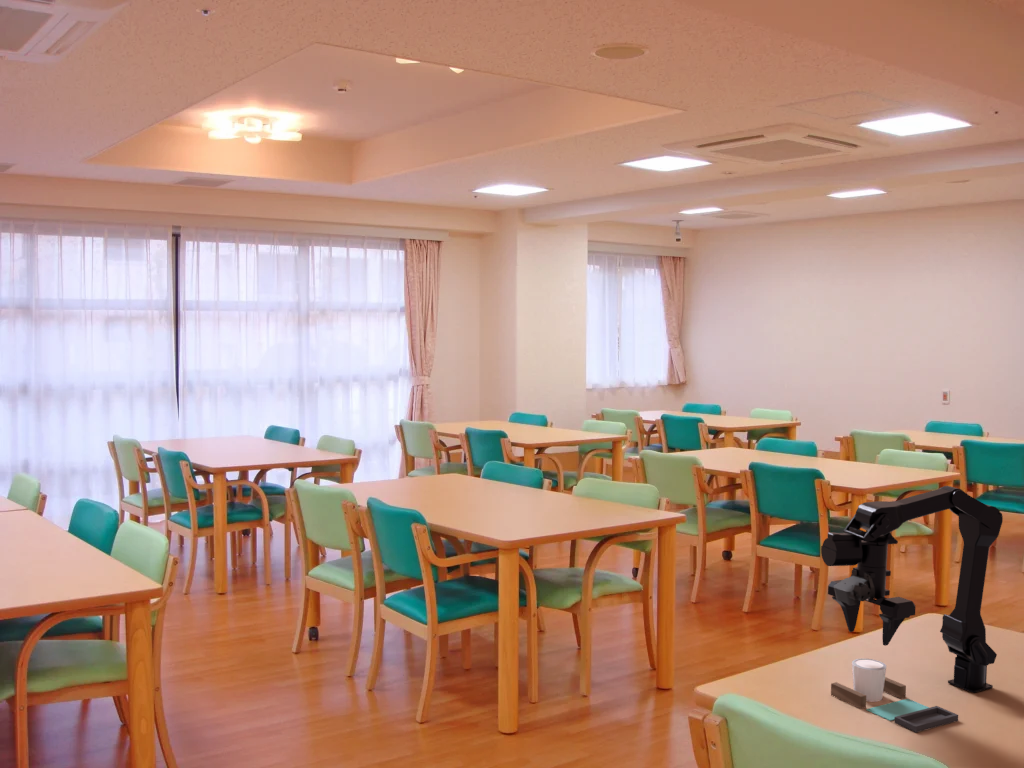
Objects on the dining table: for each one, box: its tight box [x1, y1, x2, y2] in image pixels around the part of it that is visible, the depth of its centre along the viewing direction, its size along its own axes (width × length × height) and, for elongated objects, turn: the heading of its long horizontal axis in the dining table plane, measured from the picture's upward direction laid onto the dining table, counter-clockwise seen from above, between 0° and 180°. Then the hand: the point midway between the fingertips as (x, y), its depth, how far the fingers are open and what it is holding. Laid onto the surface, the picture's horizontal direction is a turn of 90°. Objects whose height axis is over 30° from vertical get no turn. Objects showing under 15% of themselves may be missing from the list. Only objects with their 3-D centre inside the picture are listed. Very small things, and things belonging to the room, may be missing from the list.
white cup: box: [851, 658, 888, 703], centre depth 204 cm, size 7×7×7 cm
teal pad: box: [866, 698, 930, 722], centre depth 197 cm, size 12×6×1 cm, turn 118°
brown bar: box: [830, 676, 907, 710], centre depth 204 cm, size 13×8×2 cm, turn 118°
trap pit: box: [894, 705, 959, 733], centre depth 191 cm, size 12×5×1 cm, turn 118°
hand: (868, 638), depth 204 cm, fingers open, 9 cm apart
